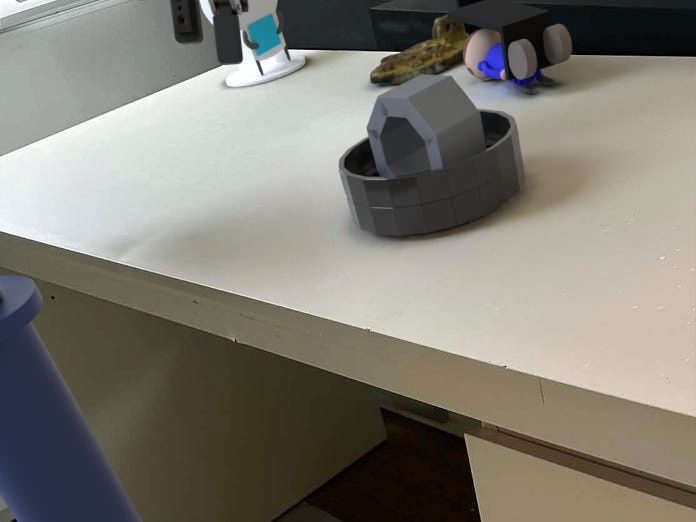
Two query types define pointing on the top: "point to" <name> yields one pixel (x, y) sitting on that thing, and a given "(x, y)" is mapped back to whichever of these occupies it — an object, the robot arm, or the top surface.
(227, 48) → the robot arm
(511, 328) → the top surface
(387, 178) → the bowl
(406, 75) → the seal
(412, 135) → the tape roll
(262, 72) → the panda figurine
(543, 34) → the figurine character
